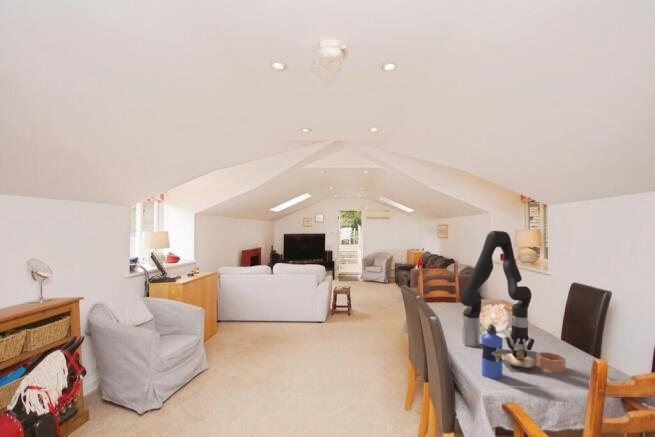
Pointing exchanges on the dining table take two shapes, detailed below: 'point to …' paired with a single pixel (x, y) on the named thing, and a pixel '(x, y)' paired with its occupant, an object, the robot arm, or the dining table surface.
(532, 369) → the mat
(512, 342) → the supplement box
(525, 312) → the robot arm
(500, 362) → the water bottle
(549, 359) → the bowl
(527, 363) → the lid
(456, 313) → the dining table surface
